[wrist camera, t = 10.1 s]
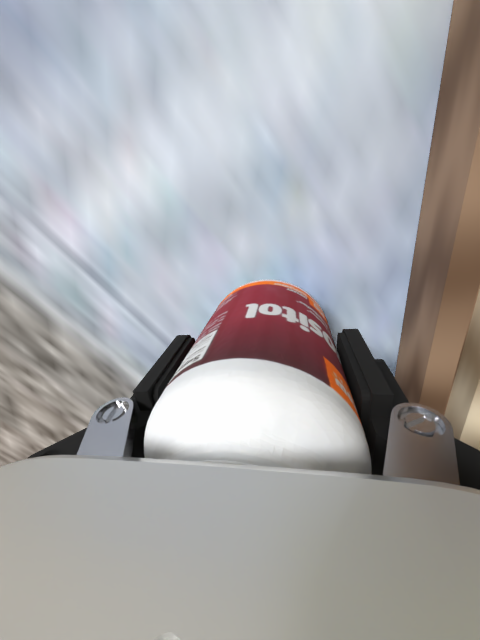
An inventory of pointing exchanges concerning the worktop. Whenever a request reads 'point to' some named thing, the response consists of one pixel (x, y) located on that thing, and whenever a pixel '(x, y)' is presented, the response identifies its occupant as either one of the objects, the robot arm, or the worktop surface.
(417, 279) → the walnut rack
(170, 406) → the pill bottle
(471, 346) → the birch offcut
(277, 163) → the worktop surface
